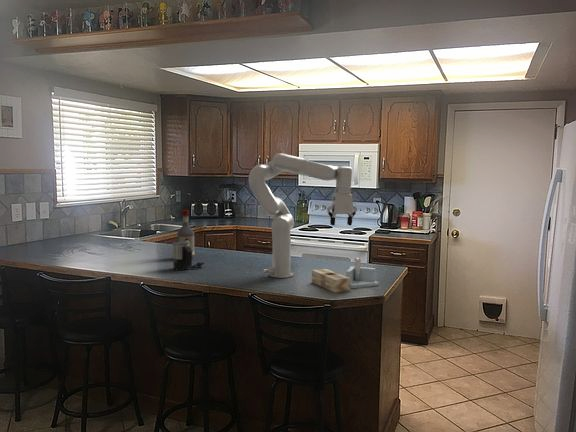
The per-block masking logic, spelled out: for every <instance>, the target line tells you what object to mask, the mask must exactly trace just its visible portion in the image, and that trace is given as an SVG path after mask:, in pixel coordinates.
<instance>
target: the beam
mask: <svg viewBox="0 0 576 432" xmlns="http://www.w3.org/2000/svg"><path fill="white" fill-rule="evenodd" d="M311 270H312V271H311V282H312V283H313V284H316V285H317V286H320V287H322V288H323V289H325V290H326V289H327V290H328V291H330V292H332V293H343V292H349V291H351V290H350V289H351V288H350V278H349V277H346V275H344V274H341V273H338V272H335V271H333V270H330V269H327V268H320V269H311Z"/></svg>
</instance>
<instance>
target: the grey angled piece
mask: <svg viewBox="0 0 576 432" xmlns="http://www.w3.org/2000/svg"><path fill="white" fill-rule="evenodd" d="M345 276H346V277H349V278H350V289H360V288H369V287H378V286H380V282H379V281H376V268H374V267H365V266H364V267H363V266H360V281H354V266H353V265H352V266H349V267H348V269H347V270H346V271H345Z"/></svg>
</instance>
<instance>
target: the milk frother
mask: <svg viewBox="0 0 576 432" xmlns="http://www.w3.org/2000/svg"><path fill="white" fill-rule="evenodd" d="M172 259H173V260H172V261H173V262H172V263H173V267H172V270H173V269H177V270H176V271H185V270H184V269H188V270H190V269H191V268H194V267H198V266H200V267H201V266H203V265H204V264H205V262H196V264H193V263H192V262H193V259H192V250H191V248H190V247H189V242H178V241H175V242H172ZM192 264H193V265H192ZM189 268H190V269H189Z"/></svg>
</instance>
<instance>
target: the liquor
mask: <svg viewBox="0 0 576 432" xmlns="http://www.w3.org/2000/svg"><path fill="white" fill-rule="evenodd" d="M177 242H189V247H190V248H191V250H192V260H194V259H195V232H194V230H193V229H192V228H191V226H190V223H189V210H188V209H183V210H182V225H181V227H180V228H179V229H178V230H177ZM193 258H194V259H193Z"/></svg>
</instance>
